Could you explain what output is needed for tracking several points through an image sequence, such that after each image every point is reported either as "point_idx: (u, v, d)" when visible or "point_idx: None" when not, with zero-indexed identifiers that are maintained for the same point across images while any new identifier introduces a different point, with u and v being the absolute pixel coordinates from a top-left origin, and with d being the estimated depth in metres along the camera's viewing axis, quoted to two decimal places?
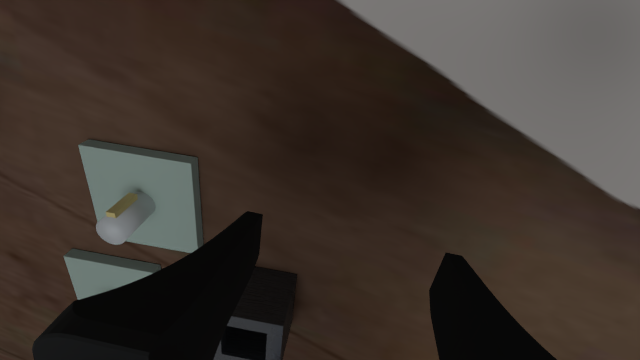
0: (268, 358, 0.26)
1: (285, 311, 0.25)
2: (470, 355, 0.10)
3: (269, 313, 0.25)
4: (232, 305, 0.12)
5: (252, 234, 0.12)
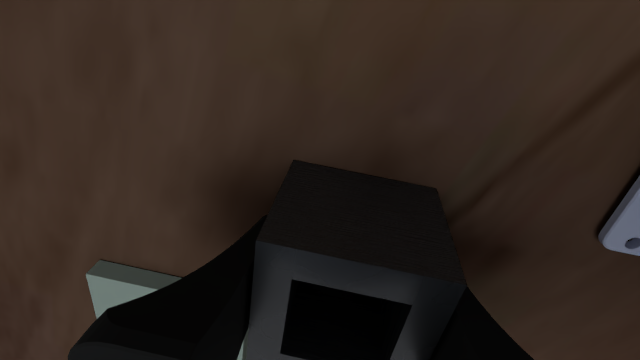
0: (393, 294, 0.09)
1: None
2: (445, 349, 0.10)
3: None
4: None
5: None
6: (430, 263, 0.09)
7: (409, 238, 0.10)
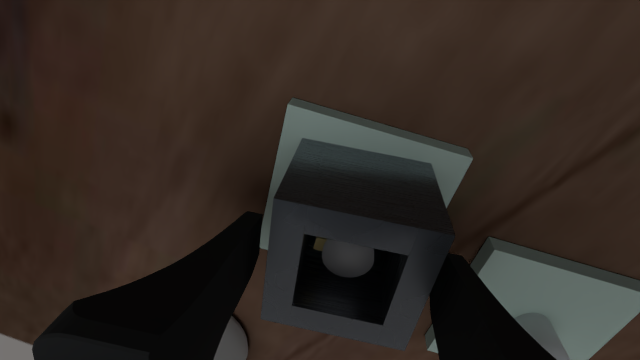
0: (391, 246, 0.11)
1: None
2: (470, 355, 0.10)
3: None
4: (232, 305, 0.12)
5: (252, 234, 0.12)
6: (424, 219, 0.11)
7: (406, 200, 0.12)
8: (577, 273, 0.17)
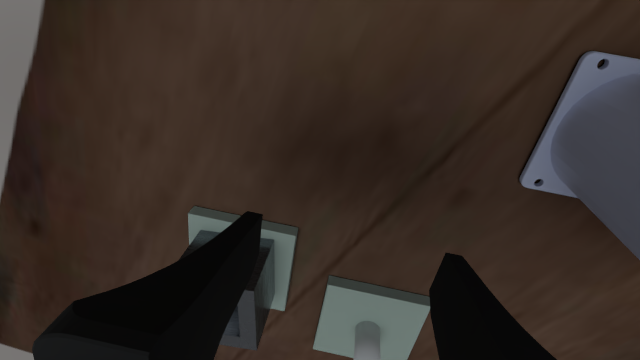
0: None
1: None
2: (470, 355, 0.10)
3: None
4: (232, 305, 0.12)
5: (252, 234, 0.12)
6: None
7: None
8: (380, 295, 0.27)
